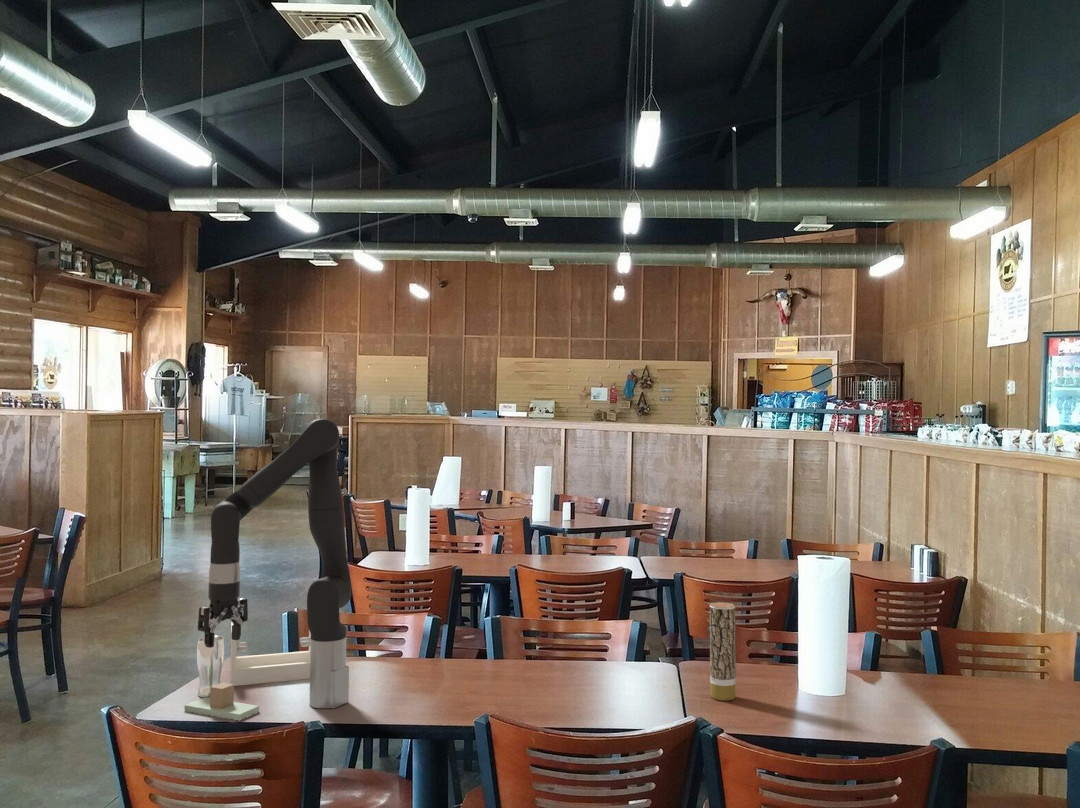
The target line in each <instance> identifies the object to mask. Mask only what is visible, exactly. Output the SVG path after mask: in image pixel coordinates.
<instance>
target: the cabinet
mask: <svg viewBox="0 0 1080 808" xmlns="http://www.w3.org/2000/svg"><path fill="white" fill-rule="evenodd" d="M230 622H231V621H230ZM232 625H234V624H233V623H232V622H231V624H230V626H231V628H230V681H229V682H230V683H229V684H234V687H235V686H236V687H237V686H248V685H258V684H266V683H277V682H278V683H280V682H286V681H287V682H289V681H298V680H310V639H311V634H310V630H309V629H308V637H307V636H305V637H300V638H299V643H300V647H301V648H302V647H303V648H304V647H308V650H304V651H303V650H302V651H301V650H300V651H292V652H290V651H289V652H280V653H279V652H278V653H269V654H267V653H266V654H258V655H257V654H256V655H243V656H237V653H242V652H243V653H244V652H248V649H249V648H248V646H249V645H248V641H244V642H243V641H242V642H238V640H232Z"/></svg>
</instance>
